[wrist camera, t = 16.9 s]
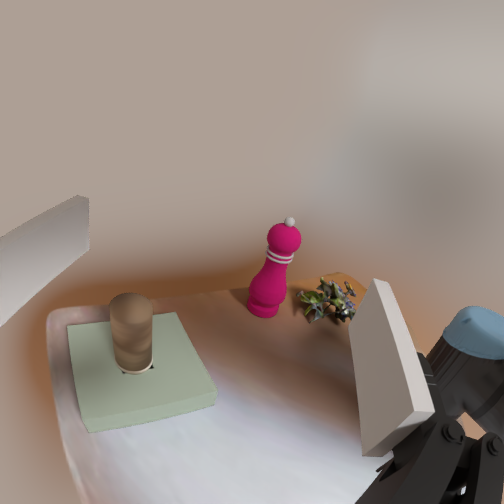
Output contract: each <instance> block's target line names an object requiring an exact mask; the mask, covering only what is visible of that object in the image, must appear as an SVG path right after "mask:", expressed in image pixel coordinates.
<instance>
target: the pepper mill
mask: <svg viewBox="0 0 504 504" xmlns="http://www.w3.org/2000/svg"><path fill="white" fill-rule="evenodd" d="M294 223H295V221H294V219H293V218H292V217H287V218H286V219H285V221H284V223H279V224H276V225H274V226H273V227H272V228H271V229H270V230H269V233H268V235H267V241H268V244H269V245H268V246H267V250H266V252H265V253H266V256H267V258H266V261H265V264H264V266H263V268H262V269H261V271H260V272H259V273H258V274H257V275H256V276H255V277H254V278H253V280H252V282H251V284H250V287H249V293H250V296H249V299H248V303H247V307H248V309H249V310H250V312H252V313H253V314H254V315H256V316H259V317H262V318H270V317H273V316H274V315H276V313H277V311H278V308H279V304H280V303H282V302H283V301H284V299H285V296H286V290H287V286H286V269H287V265H288V263H290V262H291V261H292V257H293V256H294V253H293V252H295V251H296V250H297V249H298V248H299V247H300V244H301V235H300V232H299V231H298V230H297V228H295V227H294V226H293V225H294Z"/></svg>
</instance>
